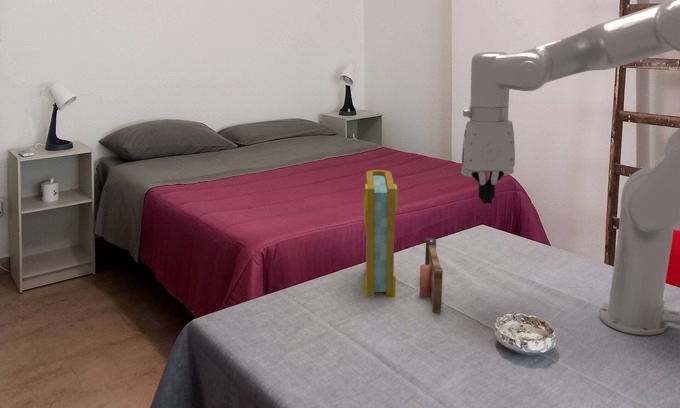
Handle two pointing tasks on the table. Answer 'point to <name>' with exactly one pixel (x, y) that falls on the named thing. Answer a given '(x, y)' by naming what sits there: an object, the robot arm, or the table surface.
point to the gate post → (428, 242)
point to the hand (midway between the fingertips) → (486, 201)
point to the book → (380, 232)
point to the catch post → (425, 281)
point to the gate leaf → (435, 279)
